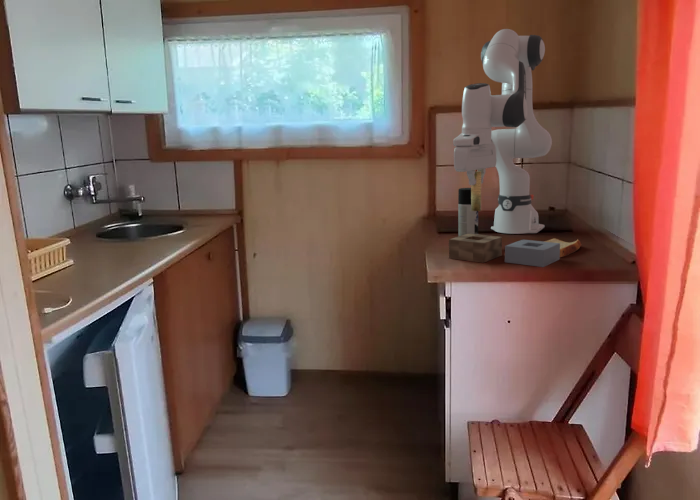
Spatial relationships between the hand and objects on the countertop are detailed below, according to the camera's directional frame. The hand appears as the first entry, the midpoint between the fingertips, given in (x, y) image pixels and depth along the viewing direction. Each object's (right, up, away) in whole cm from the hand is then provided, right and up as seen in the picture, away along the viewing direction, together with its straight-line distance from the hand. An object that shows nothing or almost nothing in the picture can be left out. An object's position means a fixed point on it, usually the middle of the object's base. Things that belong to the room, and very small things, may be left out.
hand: (476, 184), depth 178 cm
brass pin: (0, -8, +2) cm, 8 cm away
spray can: (+2, -19, +21) cm, 28 cm away
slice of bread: (+29, -21, +9) cm, 37 cm away
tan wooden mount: (+1, -22, +5) cm, 23 cm away
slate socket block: (+16, -24, -3) cm, 29 cm away
